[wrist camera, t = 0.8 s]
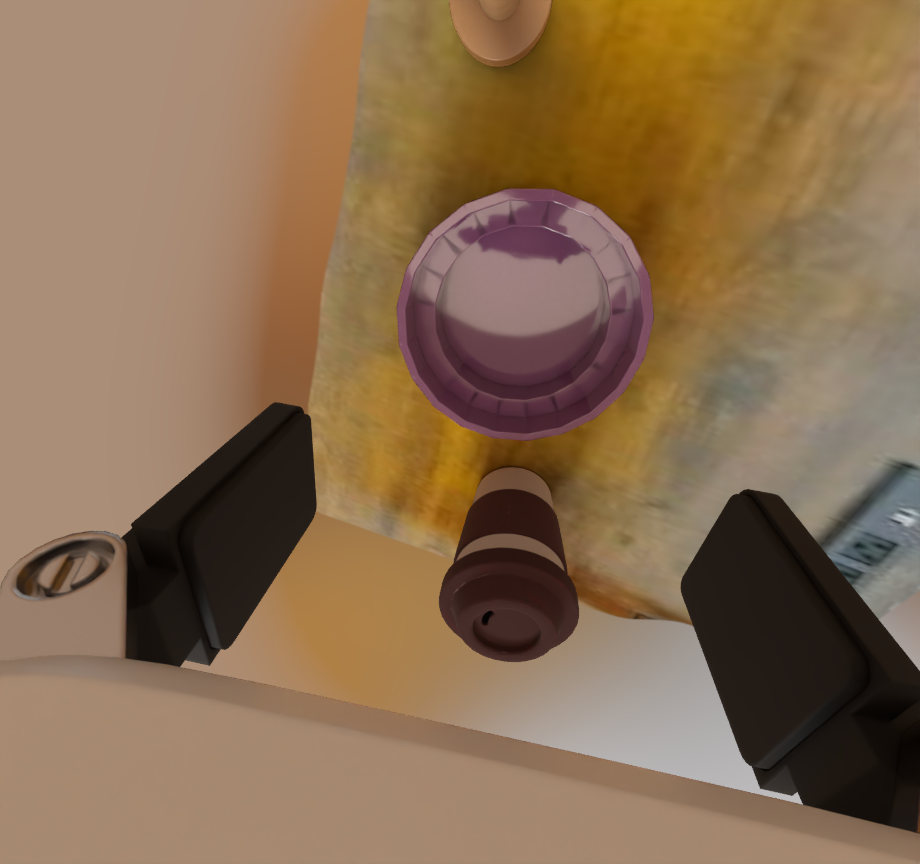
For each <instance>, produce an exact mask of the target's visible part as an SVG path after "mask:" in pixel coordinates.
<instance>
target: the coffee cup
mask: <svg viewBox="0 0 920 864" xmlns="http://www.w3.org/2000/svg"><path fill="white" fill-rule="evenodd" d="M439 607H440V611H441V614H442V617H443V618H444V620H445V622H446V624H447V625H448V626H449V627H450V628H451V629H452V630H453V632H454V633H456V634H457V635H458V636H459V637H460V638H462V640H463V641H464V642H465V643H466V644H467V645H468V646H469V647H470V648H471V649H472V650H474V651H476V652H477V653H479V654H481V655H483V656H485V657H488V658H492V659H495V660H500V661H507V662H522V661H528V660H532V659H536V658H538V657H540V656H542V655H544V654H545V653H547V652H548V651H549V650H550V649H552V648H554V647H556V646H558V645H559V644H561V643H562V642H564V641H565V640H566V639H567V638H568V637H569V636H570V635H571V634H572V633H573V631H574V629H575V627H576V626H577V623H578V618H579V606H578V598H577V592H576V589H575V586H574V584H573V582H572V580H571V579H570V577H569V576H568V575H567V565H566V560H565V555H564V549H563V544H562V539H561V533H560V528H559V523H558V519H557V516H556V514H555V512H554V509H553V504H552V498H551V493H550V490H549V488H548V486H547V484H546V483H545V482H544V480H542V479H541V478H540V477H539V476H538V475H536V474H535V473H533V472H531V471H529V470H526V469H523V468H516V467H507V468H501V469H498V470H495V471H493V472H491V473H490V474H488V475H487V476H485V477H484V479H483V480H482V481H481V482H480V484H479V486H478V488H477V491H476V494H475V498H474V501H473V505H472V506H471V507H470V509H469V511H468V514H467V517H466V520H465V524H464V527H463V531H462V534H461V537H460V541H459V544H458V547H457V551H456V554H455V558H454V564H453V565H452V566H451V567H450V568H449V569H448V572H447V573H446V575H445V577H444V579H443V582H442V587H441V592H440V596H439Z"/></svg>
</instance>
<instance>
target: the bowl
mask: <svg viewBox="0 0 920 864" xmlns="http://www.w3.org/2000/svg"><path fill="white" fill-rule="evenodd" d="M653 318H654V313H653V303H652V293H651V283H650V277H649V273H648V271H647V269H646V267H645V265H644V263H643V261H642V259H641V257H640V255H639V253H638V251H637V249H636V247H635V245H634V243H633V241H632V239H631V237H630V236H629V235H628V234H627V233H626V232H625V231H624V230H623V229H622V228H621V227H620V226H619V225H617V224H616V223H615V222H614V221H613V220H612V219H611V218H610V217H609V216H608V215H607V214H606V213H605V212H604V211H602V210H601V209H600V208H599V207H597V206H596V205H594V204H591V203H589V202H586V201H584V200H581V199H579V198H576V197H574V196H571V195H569V194H566V193H564V192H561V191H559V190H556V189H541V188H509V189H504V190H501V191H499V192H496V193H493V194H490V195H487V196H485V197H482V198H479V199H476V200H473V201H471V202H468V203H465V204H464V205H462V206H461V207H459V208H458V209H457V210H456V211H454V212H453V213H452V214H451V215H450V216H448V217H447V218H446V219H445V220H443V221H442V222H441V223H440V224H438V225H437V226H436V227H435V228H433V229H432V230H431V231H430V232H429V233H428V235H427V236H426V238H425V239H424V241H423V243H422V244H421V246H420V247H419V249H418V250H417V252H416V254H415V255H414V257H413V258H412V260H411V262H410V263H409V265H408V266H407V268H406V271H405V275H404V279H403V283H402V287H401V291H400V295H399V299H398V303H397V320H398V336H399V346H400V349H401V351H402V354H403V356H404V359H405V362H406V364H407V367H408V369H409V372H410V375H411V377H412V378H413V380H414V382H415V383H416V384H417V386H418V387H419V388H420V389H421V391H422V392H423V393H424V395H425V396H426V397H427V398H428V400H429V401H430V402H431V404H432V405H433V406H434V407H435V408H437V409H438V410H439V411H441V412H442V413H444V414H445V415H446V416H448V417H449V418H451V419H452V420H453V421H455V422H456V423H457V424H459V425H460V426H462V427H465V428H467V429H470V430H473V431H476V432H478V433H481V434H484V435H487V436H489V437H492V438H493V437H494V438H500V439H513V440H525V441H528V440H534V439H539V438H544V437H549V436H555V435H560V434H562V433H563V434H564V433H566V432H568V431H570V430H572V429H574V428H576V427H578V426H580V425H582V424H584V423H586V422H588V421H590V420H592V419H594V418H595V417H597V416H598V415H599V414H600V413H602V412H603V411H604V410H605V409H606V408H607V407H608V406H609V405H610V404H612V403H613V402H614V401H615V400H616V399H617V398H618V397H619V396H620V395H622V394H623V393H624V391H625V389H626V388H627V386H628V385H629V383H630V381H631V380H632V378H633V376H634V375H635V373H636V371H637V370H638V368H639V366H640V365H641V363H642V361H643V360H644V357H645V354H646V350H647V345H648V341H649V337H650V333H651V329H652V324H653V320H654V319H653Z"/></svg>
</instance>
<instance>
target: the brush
mask: <svg viewBox="0 0 920 864" xmlns="http://www.w3.org/2000/svg"><path fill="white" fill-rule="evenodd" d="M449 5H450V12H451V17H452V21H453V24H454V27H455V29H456V31H457V33H458V36H459V38H460V40H461V42H462V44H463V45H464V47H465V48H466V50H467V51H468V52H469V53H470V54H471V55H472V56H473V57H474V58H475V59H477V60H478V61H480V62H481V63H484V64H486V65H489V66H496V67H502V66H508V65H511V64H514V63H516V62H518V61H519V60H521V59H522V58H524V57H525V56H526V55H527V54H528V53H529V52H530V51H531V50H532V49H533V48H534V47H535V45H536V44H537V43H538V41H539V40H540V38H541V36H542V34H543V32H544V30H545V28H546V25H547V22H548V20H549V16H550V12H551V6H552V0H449Z"/></svg>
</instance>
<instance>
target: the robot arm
mask: <svg viewBox="0 0 920 864" xmlns="http://www.w3.org/2000/svg"><path fill="white" fill-rule="evenodd" d="M315 512H316V489H315V474H314V459H313V444H312V429H311V418H310V416H309V415H307V414H304V411H303V409H302V408H301V407H299V406H293V405H288V404H283V403H273V404H271V405H270V406H269V407H268V408H266V409H265V410H264V411H263V412H262V413H261V414H260V415H258V416H257V417H256V418H255V419H254V420H252V421H251V422H250V423H249V424H248V425H247V426H245V427H244V428H243V429H242V430H241V431H240V432H238V433H237V434H236V435H235V436H234V437H232V438H231V439H230V440H229V441H228V442H227V443H225V444H224V445H223V446H222V447H221V448H220V449H218V450H217V451H216V452H215V453H214V454H213V455H211V456H210V457H209V458H208V459H207V460H206V461H204V463H202V464H201V465H200V466H199V467H197V468H196V469H195V470H194V471H193V472H191V473H190V474H189V475H188V476H187V477H186V478H185V479H183V480H182V481H181V482H180V483H179V484H178V485H176V486H175V487H174V488H173V489H172V490H171V491H169V492H168V493H167V494H166V495H165V496H163V497H162V498H161V499H160V500H159V501H157V502H156V503H155V504H154V505H153V506H152V507H151V508H149V509H148V510H147V511H146V512H145V513H143V514H142V515H141V516H140V517H139V518H138V519H136V520H135V521H134V522H133V523H132V524H131V526H132V529H131V530H130V531H128V533H126V534H125V535H124V536H123V537H122V538H120V537H119V536H118V535H116V534H113V533H110V532H106V531H88V532H81V533H75V534H71V535H67V536H65V537H61V538H58V539H54V540H52V541H50V542H48V543H46V544H44V545H42V546H40V547H37V548H36V549H34V550H33V551H32V552H30V553H29V554H27V555H25V556H24V557H22V558H21V559H20V560H19V561H18V562H17V563H16V564H15V565H14V566H13V567H12V568H11V569H10V570H8V572H7V574H6V576H5V577H4V579H3V581H2V583H1V586H0V864H920V671H919V670H918V668H917V667H916V666H915V665H914V663H913V662H912V661H911V660H910V658H909V657H908V656H907V655H906V653H905V652H904V651H903V650H902V648H901V647H900V646H899V644H898V643H897V642H896V641H895V640H894V638H893V637H892V636H891V634H890V633H889V632H888V631H887V630H886V628H885V627H884V626H883V625H882V623H881V622H880V621H879V619H878V618H877V617H876V616H875V614H874V613H873V612H872V611H871V609H870V608H869V607H868V606H867V604H866V603H865V602H864V601H863V599H862V598H861V597H860V596H859V594H858V593H857V592H856V591H855V589H854V588H853V587H852V586H851V584H850V583H849V582H848V581H847V579H846V578H845V577H844V576H843V574H842V573H841V572H840V571H839V569H838V568H837V567H836V566H835V564H834V563H833V562H832V561H831V559H830V558H829V557H828V556H827V554H826V553H825V552H824V551H823V549H822V548H821V547H820V546H819V544H818V543H817V542H816V541H815V539H814V538H813V537H812V536H811V534H810V533H809V532H808V531H807V529H806V528H805V527H804V526H803V524H802V523H801V522H800V521H799V519H798V518H797V517H796V516H795V514H794V513H793V512H792V511H791V509H790V508H789V507H788V506H787V504H786V503H785V502H784V501H783V499H782V498H781V497H779V496H778V495H775V494H771V493H766V492H760V491H755V490H749V489H747V490H743V491H742V492H740V493H739V494H735V495H733V496H731V498H730V499H729V500H728V502H727V504H726V506H725V507H724V509H723V511H722V512H721V514H720V516H719V517H718V519H717V521H716V522H715V524H714V526H713V527H712V529H711V531H710V532H709V534H708V536H707V537H706V539H705V541H704V542H703V544H702V546H701V547H700V549H699V551H698V552H697V554H696V556H695V557H694V559H693V561H692V562H691V564H690V566H689V567H688V569H687V571H686V572H685V574H684V576H683V578H682V581H681V593H682V596H683V599H684V602H685V605H686V607H687V610H688V613H689V615H690V618H691V621H692V623H693V626H694V628H695V632H696V634H697V637H698V640H699V642H700V645H701V648H702V651H703V653H704V656H705V658H706V661H707V664H708V667H709V669H710V672H711V675H712V677H713V680H714V683H715V686H716V688H717V691H718V694H719V697H720V699H721V702H722V704H723V707H724V710H725V713H726V716H727V718H728V720H729V723H730V726H731V729H732V732H733V734H734V737H735V740H736V742H737V745H738V748H739V751H740V753H741V755H742V757H743V759H744V760H745V762H746V763H747V764H749V765H750V766H752V768H753V771H754V774H755V776H756V779H757V781H758V784H759V786H760V789H765V790H769V791H774V792H778V793H782V794H787V795H791V796H792V795H794V794H795V793H796V792H798V794H799V796H800V799H801V801H802V803H803V805H802V804H798V803H793V802H789V801H785V800H780V799H776V798H772V797H767V796H763V795H759V794H754V793H750V792H745V791H741V790H737V789H732V788H728V787H723V786H719V785H715V784H711V783H706V782H702V781H697V780H693V779H689V778H684V777H680V776H676V775H671V774H667V773H663V772H658V771H654V770H650V769H645V768H641V767H637V766H632V765H628V764H623V763H619V762H614V761H610V760H606V759H601V758H596V757H592V756H588V755H583V754H579V753H574V752H570V751H565V750H561V749H557V748H552V747H548V746H543V745H539V744H534V743H530V742H526V741H521V740H517V739H512V738H508V737H503V736H499V735H494V734H490V733H485V732H481V731H476V730H472V729H467V728H463V727H459V726H454V725H450V724H445V723H441V722H436V721H432V720H427V719H422V718H418V717H414V716H409V715H404V714H400V713H395V712H391V711H386V710H381V709H377V708H372V707H368V706H363V705H358V704H354V703H349V702H345V701H340V700H336V699H331V698H326V697H321V696H317V695H313V694H308V693H303V692H299V691H294V690H290V689H285V688H281V687H276V686H272V685H267V684H262V683H257V682H252V681H247V680H242V679H237V678H232V677H227V676H222V675H217V674H212V673H207V672H202V671H197V670H191V669H187V668H181V667H180V666H181V665H182V663H183V662H184V661H185V660H187V661H191V662H196V663H200V664H205V665H209V666H210V664H211V663H212V661H213V660H214V658H215V657H216V655H217V654H218V652H219V651H220V649H224V650H225V649H227V648H229V647H230V646H231V645H232V644H233V642H234V641H235V639H236V638H237V636H238V635H239V633H240V632H241V630H242V628H243V627H244V625H245V624H246V622H247V621H248V619H249V618H250V616H251V615H252V613H253V611H254V610H255V608H256V607H257V605H258V604H259V602H260V601H261V599H262V597H263V596H264V594H265V593H266V591H267V590H268V588H269V587H270V585H271V584H272V582H273V580H274V579H275V577H276V576H277V574H278V572H279V571H280V569H281V568H282V567H283V565H284V563H285V562H286V560H287V559H288V557H289V556H290V554H291V553H292V551H293V550H294V548H295V546H296V545H297V543H298V542H299V540H300V538H301V537H302V536H303V534H304V533H305V531H306V529H307V528H308V526H309V525H310V523H311V522H312V520H313V518H314V515H315Z"/></svg>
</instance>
